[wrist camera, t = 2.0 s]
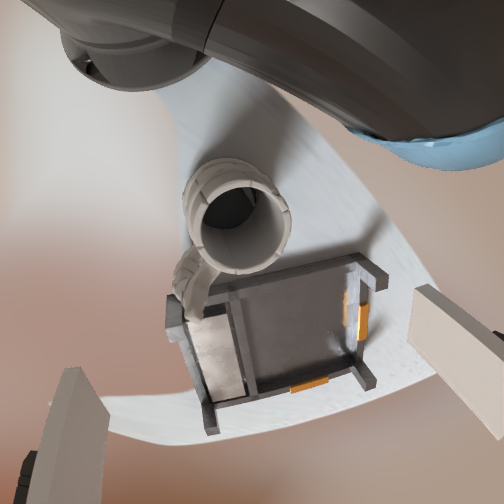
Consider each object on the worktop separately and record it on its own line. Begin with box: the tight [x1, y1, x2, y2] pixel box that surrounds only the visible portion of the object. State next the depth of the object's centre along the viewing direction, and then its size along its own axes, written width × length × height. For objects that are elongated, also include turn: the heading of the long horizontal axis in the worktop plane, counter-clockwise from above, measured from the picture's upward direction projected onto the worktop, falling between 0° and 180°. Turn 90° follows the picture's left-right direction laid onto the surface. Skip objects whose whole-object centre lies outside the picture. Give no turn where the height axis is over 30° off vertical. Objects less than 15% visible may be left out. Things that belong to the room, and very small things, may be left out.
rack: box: [165, 252, 389, 436], centre depth 33 cm, size 16×21×6 cm
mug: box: [172, 158, 291, 324], centre depth 24 cm, size 8×12×12 cm, turn 144°
